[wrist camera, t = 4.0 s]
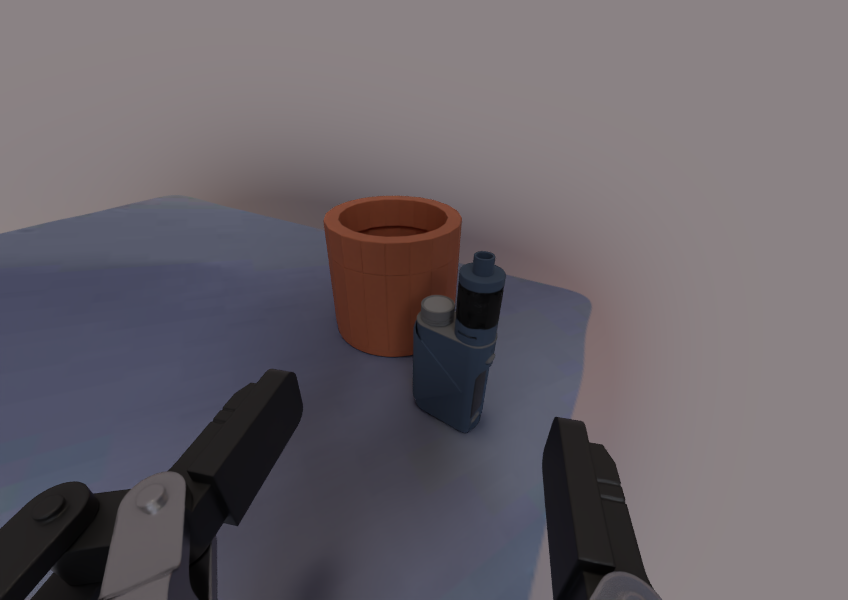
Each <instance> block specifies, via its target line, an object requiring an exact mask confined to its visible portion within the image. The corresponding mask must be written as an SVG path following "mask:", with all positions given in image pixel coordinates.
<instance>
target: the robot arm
mask: <svg viewBox="0 0 848 600" xmlns="http://www.w3.org/2000/svg"><path fill="white" fill-rule="evenodd" d="M302 412H303V403H302V399H301V394H300V390H299V386H298V381H297V377H296V374H295V373H293V372H288V371H282V370H276V369H269V370H268V371H266V373H265V374H264V375H263V376H262V377H261V379H260V380H259V381H258V382H257V384H256V383H250V384H248V385H247V386H245V387H244V388H242V389H241V390H239V391H238V392H236V393H235V394H234V395H233V396H232V397H231V399H230V400H229V401H228V402H227V403H226V404H225V406H224V407H223V410H220V411H219V413H218V414H217V415H216V416H215V417H214V419H213V422H210V423H209V424H208V426H207V427H206V428H205V429H204V430H203V431H202V433H201V434H200V435H199V436H198V437H197V439H196V440H195V441H194V442H193V443H192V444H191V446H190V447H189V448H188V449H187V450H186V451H185V453H184V454H183V455H182V456H181V457H180V458H179V460H178V461H177V462H176V463H175V464H174V465H173V466H172V467H171V469H169V470H168V471H167V472H161V473H157V474H154V475H152V476H150V477H148V478H146V479H144V480H142V481H141V482H139V483H138V484H137V485H135V486H134V487H133V488H132V489H127V490H119V491H111V492H103V493H95V494H93V493H92V492H91V491H90V489H89V488H88V487H87V486H86V485H85V484H84V483H81V482H66V483H62V484H59V485H56V486H54V487H52V488H49V489H48V490H46V491H44V492H42V493H41V494H39V495H37V496H36V497H35V498H33V499H32V500H31V501H30V502H28V503H27V504H26V505H25V506H24V507H23V508H22V509H21V510H20V511H19V512H18V513H17V514H15V515H14V516H13V517H12V518H11V519H10V520H9V521H8V522H7V523H6V524H5V525H4V526H3V527H2V528H1V529H0V600H24V599H25V598H26V597H27V596H28V594H29V593H30V592H31V591H32V590H33V589H34V588H35V586H36V585H37V584H38V583H39V582H40V581H41V579H42V578H43V577H44V576H45V575H46V574H47V573H48V571H49V570H50V569H51V570H52V571H53V572H54V573H53V574H52V575H51V576H50V577H49V578H48V580H47V581H46V582H45V583H44V584H43V585H42V587H41V588H40V589H39V590H38V591H37V593H36V594H35V595H34V596H33V597H32V598H31V600H217V537H216V534H217V532H218V530H219V529H220V527H221V526H222V524H223V523H226V524H231V525H235V526H238V525H239V523H240V521H241V520H242V518H243V516H244V515H245V513H246V511H247V510H248V508H249V506H250V505H251V503H252V501H253V500H254V498H255V496H256V495H257V493H258V491H259V490H260V488H261V486H262V485H263V483H264V481H265V480H266V478H267V476H268V474H269V473H270V471H271V469H272V468H273V466H274V464H275V463H276V461H277V459H278V458H279V456H280V454H281V453H282V451H283V449H284V448H285V446H286V444H287V443H288V441H289V439H290V438H291V436H292V434H293V433H294V431H295V429H296V428H297V426H298V424H299V422H300V420H301V416H302ZM542 473H543V485H544V496H545V508H546V519H547V531H548V542H549V553H550V566H551V578H552V589H553V600H662V599H661V598H660V596H659V595H658V594H657V593H656V592H655V590H654V589H653V587H652V585H651V584H650V582H649V580H648V577H647V575H646V572H645V569H644V566H643V562H642V559H641V555H640V551H639V548H638V544H637V540H636V537H635V533H634V529H633V526H632V523H631V519H630V515H629V511H628V508H627V504H625V497H624V493H623V490H622V487H621V486H620V484H621V482H620V478H619V475H618V472H617V468H616V464H615V462H614V461H613V459H612V458H611V456H610V455H609V454H608V452H607V450H606V449H605V448H604V446H603V445H601V444H596V443H590V442H589V440H588V435H587V431H586V427H585V424H584V422H582V421H578V420H572V419H566V418H560V417H555V418H554V420H553V423H552V426H551V429H550V432H549V435H548V438H547V441H546V445H545V448H544V452H543V460H542Z"/></svg>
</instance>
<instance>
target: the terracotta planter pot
mask: <svg viewBox="0 0 848 600" xmlns="http://www.w3.org/2000/svg"><path fill="white" fill-rule="evenodd" d="M461 223H462V218H461V216H460V214H459V213H458V211H457V210H455V209H453V208H452V207H450V206H448V205H446V204H444V203H441V202H438V201H434V200H430V199H425V198H420V197H409V196H377V197H368V198H361V199H357V200H353V201H348V202H345V203H343V204H340V205H338V206H335V207H334V208H333V209H331V210H330V211H329V212H327V213H326V215H325V218H324V228H325V236H326V244H327V251H328V259H329V266H330V274H331V282H332V289H333V297H334V304H335V312H336V319H337V324H338V329H339V332H340V334H341V335H342V337H343V338H344V339H345V341H346V342H347V343H349V344H350V345H351V346H353V347H355V348H356V349H358V350H361V351H363V352H366V353H369V354H373V355H378V356H386V357H401V356H409V355H413V327H414V324H415V321H416V320H417V315H418V313H419V312H420V311H421V302H422V300H423V299H424V298H426V297H428V296H431V295H443V296H446V297H449V298H451V299H452V300H453V301H454V303H455V298H456V285H457V273H458V260H459V247H460V236H461Z"/></svg>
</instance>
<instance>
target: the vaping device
mask: <svg viewBox="0 0 848 600" xmlns="http://www.w3.org/2000/svg"><path fill="white" fill-rule="evenodd" d="M494 263H495V255H494V254H493V253H490V252H486V251H480V252H476V253H475V254H474V260H473V263H468V264H466V265H464V266H462V267H461V269H460V273H459V284H458V296H457V308H456V312H455V303H454V301H453V300H452V299H451V298H449V297H446V296H443V295H431V296H428V297H426V298H424V299H423V300H422V302H421V311H420V312H419V313H418V315H417V320H416V321H415V324H414V327H413V395H414V398H415V399H416V403H417V405H418V407H419V408H421V409H422V410H424V411H426V412H428V413H429V414H431V415H433V416H434V417H436V418H438V419H440V420H441V421H443V422H445V423H447V424H448V425H450V426H452V427H453V428H455V429H457V430H459V431H461V432H465V433H468V431H469V430H471V429H473V428H474V427H475V426H476V425H477V424H478V422H479V420H480V414H481V413H482V408H483V402H484V396H485V390H486V384H487V377H488V371H489V367H490V366H491V365H492V362H493V359H494V357H495V354H494V351H495V344H496V340H497V327H498V320H499V314H500V308H501V302H502V296H503V290H504V289H503V287H504V284H505V278H506V274H505V272H504V270H503V269H501V268H500V267H498V266H496V265H494ZM501 293H502V294H501ZM501 295H502V296H501Z"/></svg>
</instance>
